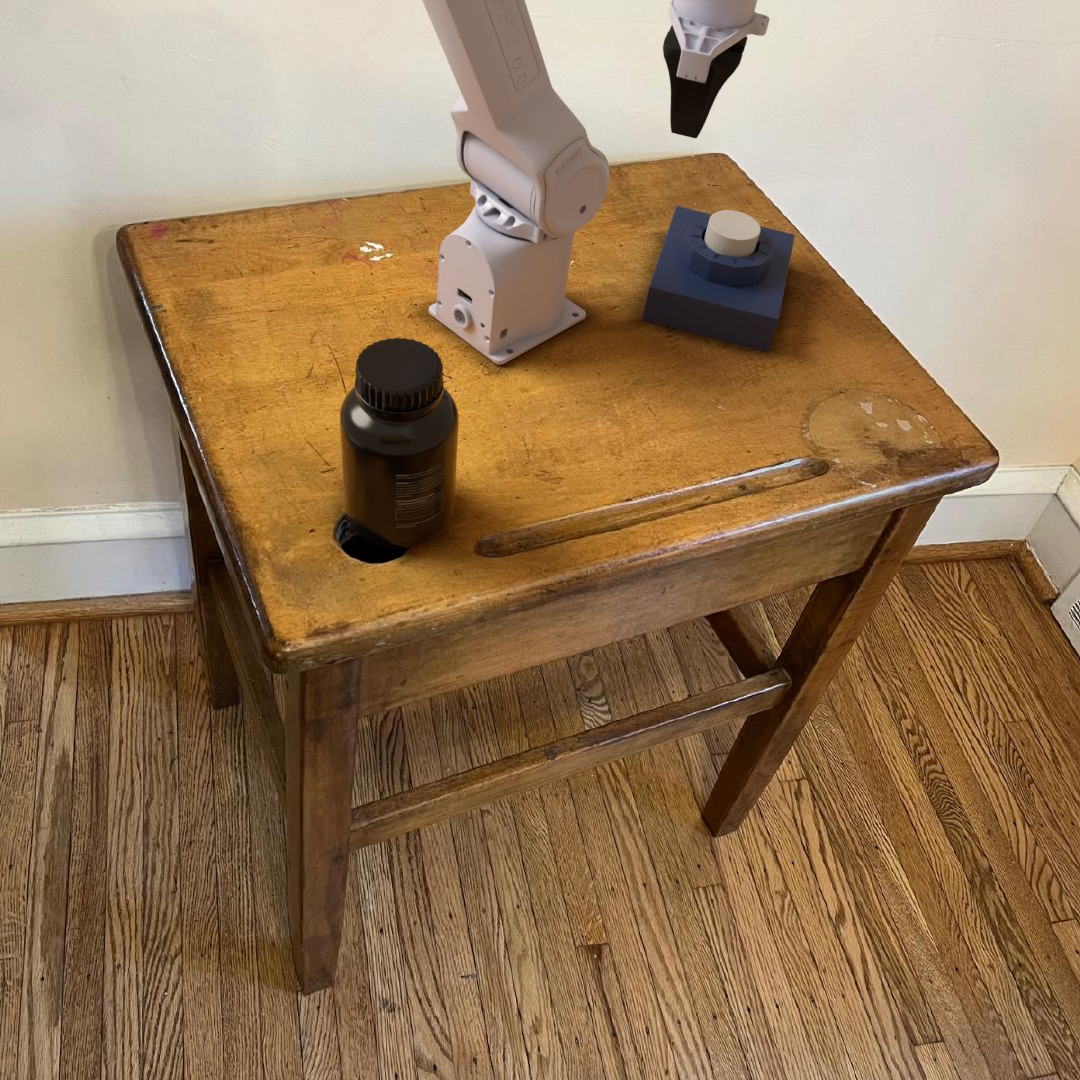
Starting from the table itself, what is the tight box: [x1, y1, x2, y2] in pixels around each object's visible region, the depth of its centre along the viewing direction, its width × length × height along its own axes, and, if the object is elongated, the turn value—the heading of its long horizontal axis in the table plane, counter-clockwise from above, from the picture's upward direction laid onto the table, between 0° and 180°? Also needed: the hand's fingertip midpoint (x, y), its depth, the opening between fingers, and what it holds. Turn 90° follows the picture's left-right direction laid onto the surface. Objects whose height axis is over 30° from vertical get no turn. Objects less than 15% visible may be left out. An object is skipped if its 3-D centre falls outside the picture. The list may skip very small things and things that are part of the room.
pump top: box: [704, 209, 761, 258], centre depth 83 cm, size 4×4×2 cm
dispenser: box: [641, 205, 796, 353], centre depth 85 cm, size 12×10×5 cm
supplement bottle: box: [339, 337, 460, 549], centre depth 63 cm, size 7×7×12 cm
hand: (685, 131), depth 82 cm, fingers closed
